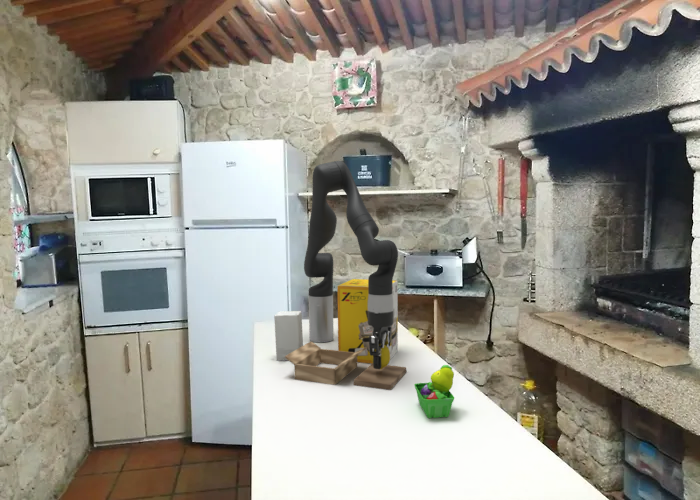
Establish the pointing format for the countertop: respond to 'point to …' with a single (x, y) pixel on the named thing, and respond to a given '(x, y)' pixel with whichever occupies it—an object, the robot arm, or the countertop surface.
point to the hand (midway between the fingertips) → (380, 365)
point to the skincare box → (288, 333)
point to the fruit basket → (437, 393)
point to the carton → (314, 355)
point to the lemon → (384, 356)
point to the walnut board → (380, 377)
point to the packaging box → (361, 319)
